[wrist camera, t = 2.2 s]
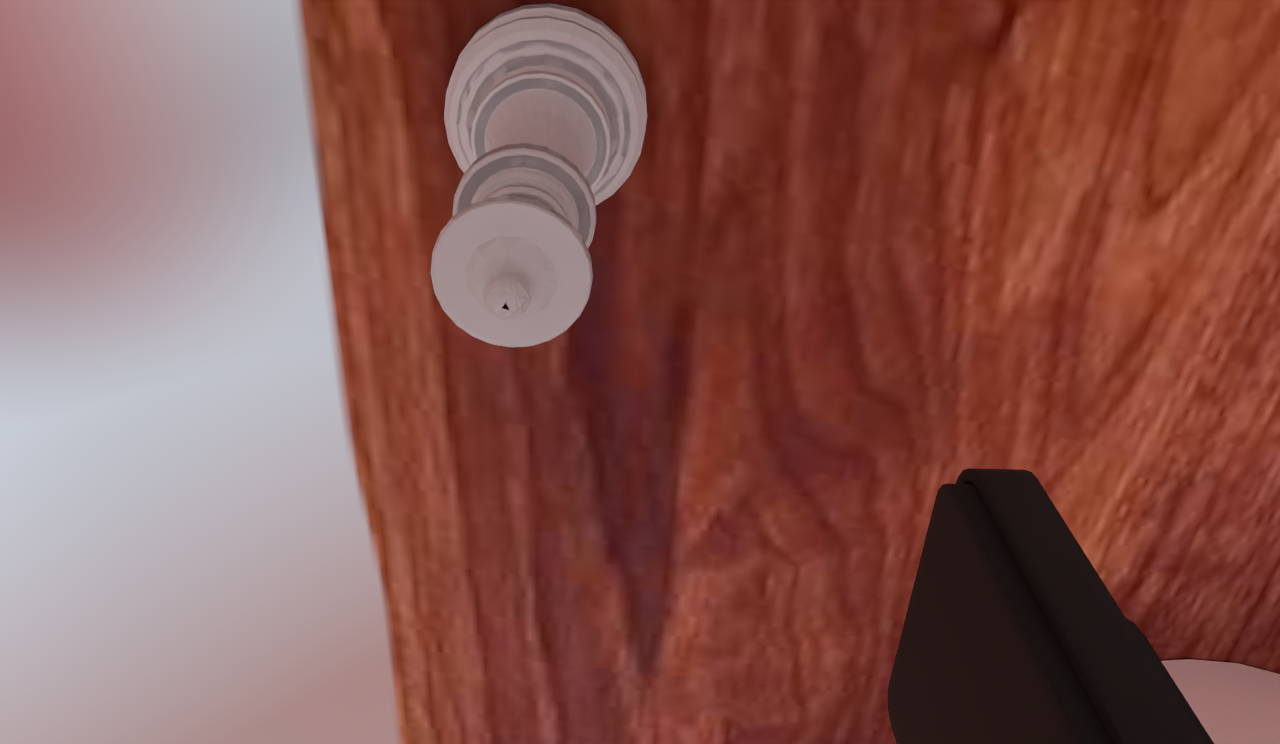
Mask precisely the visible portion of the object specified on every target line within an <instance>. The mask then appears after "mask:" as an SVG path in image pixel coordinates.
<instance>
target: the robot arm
mask: <svg viewBox="0 0 1280 744" xmlns="http://www.w3.org/2000/svg"><path fill="white" fill-rule="evenodd" d="M888 710H889V717H890V722H891V726H892V730H893V733H894V736H895V739H896V743H897V744H1214V742H1213V741H1212V739H1211V738H1210V736H1209V735H1208V733H1207V732H1206V730H1205V728H1204V727H1203V725H1202V724H1201V722H1200V721H1199V719H1198V718H1197V716H1196V715H1195V713H1194V711H1193V710H1192V708H1191V707H1190V705H1189V704H1188V702H1187V701H1186V699H1185V697H1184V696H1183V694H1182V693H1181V691H1180V690H1179V688H1178V687H1177V685H1176V683H1175V682H1174V680H1173V679H1172V677H1171V676H1170V674H1169V673H1168V671H1167V669H1166V668H1165V666H1164V665H1163V663H1162V662H1161V660H1160V659H1159V657H1158V655H1157V654H1156V652H1155V651H1154V649H1153V648H1152V646H1151V645H1150V643H1149V641H1148V640H1147V638H1146V637H1145V636H1144V634H1143V633H1142V632H1141V631H1140V630H1139V629H1138V627H1137V626H1136V625H1135V624H1134V623H1133V622H1131V621H1130V620H1128V619H1126V618H1125V617H1124V615H1123V613H1122V612H1121V610H1120V609H1119V607H1118V605H1117V604H1116V602H1115V601H1114V599H1113V598H1112V596H1111V594H1110V593H1109V591H1108V590H1107V588H1106V587H1105V585H1104V583H1103V582H1102V580H1101V579H1100V577H1099V575H1098V574H1097V572H1096V571H1095V569H1094V568H1093V566H1092V564H1091V563H1090V561H1089V560H1088V558H1087V557H1086V555H1085V553H1084V552H1083V550H1082V549H1081V547H1080V545H1079V544H1078V542H1077V541H1076V539H1075V538H1074V536H1073V534H1072V533H1071V531H1070V530H1069V528H1068V527H1067V525H1066V523H1065V522H1064V520H1063V519H1062V517H1061V515H1060V514H1059V512H1058V511H1057V509H1056V508H1055V506H1054V504H1053V503H1052V501H1051V500H1050V498H1049V497H1048V495H1047V493H1046V492H1045V490H1044V489H1043V487H1042V485H1041V484H1040V482H1039V481H1038V479H1037V478H1036V477H1035V476H1034V475H1033V474H1032V472H1029V471H1027V470H1008V469H966V470H964V471H962V473H961V474H960V475H959V477H958V479H957V482H956V484H944V485H942V486H941V487H940V489H939V491H938V493H937V496H936V500H935V504H934V508H933V512H932V516H931V520H930V523H929V527H928V531H927V535H926V539H925V543H924V547H923V551H922V555H921V559H920V563H919V567H918V571H917V575H916V579H915V583H914V587H913V591H912V595H911V599H910V603H909V607H908V611H907V615H906V619H905V623H904V627H903V631H902V635H901V638H900V642H899V646H898V650H897V654H896V658H895V662H894V666H893V670H892V674H891V678H890V682H889V688H888Z"/></svg>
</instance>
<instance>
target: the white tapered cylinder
mask: <svg viewBox="0 0 1280 744" xmlns="http://www.w3.org/2000/svg"><path fill="white" fill-rule="evenodd" d="M1161 662H1162V663H1163V665H1164V666H1165V668H1166V669H1167V671H1168V673H1169V674H1170V676H1171V677H1172V679H1173V680H1174V682H1175V683H1176V685H1177V687H1178V688H1179V690H1180V691H1181V693H1182V694H1183V696H1184V697H1185V699H1186V701H1187V702H1188V704H1189V705H1190V707H1191V708H1192V710H1193V711H1194V713H1195V715H1196V716H1197V718H1198V719H1199V721H1200V722H1201V724H1202V725H1203V727H1204V728H1205V730H1206V732H1207V733H1208V735H1209V736H1210V738H1211V739H1212V741H1213V742H1214V744H1280V674H1278V673H1274V672H1270V671H1266V670H1262V669H1258V668H1255V667H1251V666H1247V665H1243V664H1239V663H1229V662H1218V661H1206V660H1194V659H1184V660H1166V661H1161Z"/></svg>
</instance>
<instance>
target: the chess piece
mask: <svg viewBox="0 0 1280 744" xmlns="http://www.w3.org/2000/svg"><path fill="white" fill-rule="evenodd" d="M444 121H445V126H446V132H447V138H448V143H449V145H450V148H451V150H452V152H453V154H454V156H455V159H456V161H457V163H458V165H459V167H460V168H461V170H462V171H463V172H464V174H463V177H462V179H461V181H460V184H459V186H458V189H457V191H456V194H455V196H454V204H453V217H452V218H451V219H450V221H449V222H448V223H447V224H446V226H445V227H444V228H443V229H442V230H441V232H440V234H439V237H438V239H437V241H436V244H435V246H434V249H433V253H432V262H431V277H432V282H433V287H434V292H435V295H436V297H437V298H438V300H439V302H440V304H441V306H442V308H443V310H444V311H445V313H446V314H447V315H448V316H449V317H450V318H451V319H452V321H453V322H454V323H455V324H456V325H457V326H458V327H460V328H461V329H463V330H464V331H466V332H467V333H468V334H470V335H471V336H473V337H475V338H478V339H480V340H483V341H485V342H487V343H490V344H494V345H500V346H506V347H525V346H533V345H536V344H540V343H543V342H546V341H549V340H551V339H553V338H554V337H556V336H558V335H559V334H561V333H563V332H564V331H566V330H567V329H568V328H569V327H570V326H571V325H572V324H573V323H574V322H575V320H576V319H577V318H578V317H579V316H580V315H581V313H582V311H583V309H584V307H585V305H586V303H587V301H588V299H589V295H590V290H591V284H592V279H593V273H592V263H591V256H590V254H589V251H588V248H589V246H590V244H591V242H592V240H593V236H594V230H595V225H596V207H595V206H596V205H598V204H599V203H601V202H602V201H604V200H605V199H607V198H609V197H610V196H612V195H613V194H614V193H615V192H616V191H617V190H618V188H619V187H620V186H621V185H622V184H623V183H624V182H625V181H626V180H627V178H628V177H629V176H630V174H631V172H632V170H633V168H634V166H635V164H636V162H637V160H638V158H639V156H640V154H641V150H642V145H643V140H644V135H645V130H646V122H647V105H646V90H645V85H644V82H643V79H642V76H641V73H640V70H639V67H638V64H637V61H636V60H635V58H634V57H633V55H632V54H631V52H630V51H629V49H628V48H627V46H626V45H625V43H624V42H623V40H622V39H621V38H620V37H619V36H618V35H617V34H616V33H615V32H613V31H612V30H611V29H610V28H609V27H608V26H607V25H606V24H604V23H603V22H602V21H601V20H599V19H597V18H595V17H593V16H591V15H589V14H587V13H585V12H583V11H581V10H579V9H576V8H572V7H567V6H562V5H557V4H552V3H548V4H534V5H524V6H521V7H518V8H515V9H513V10H510V11H507V12H505V13H502V14H499V15H498V16H496V17H495V18H494V19H492V20H491V21H490V22H488V23H487V24H486V25H484V26H483V27H481V28H480V29H479V30H478V31H477V32H476V33H475V35H474V36H473V37H472V38H471V40H470V41H469V42H468V44H467V45H466V46H465V48H464V49H463V50H462V52H461V53H460V55H459V57H458V60H457V63H456V65H455V68H454V70H453V73H452V76H451V78H450V82H449V86H448V88H447V91H446V100H445V111H444Z"/></svg>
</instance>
